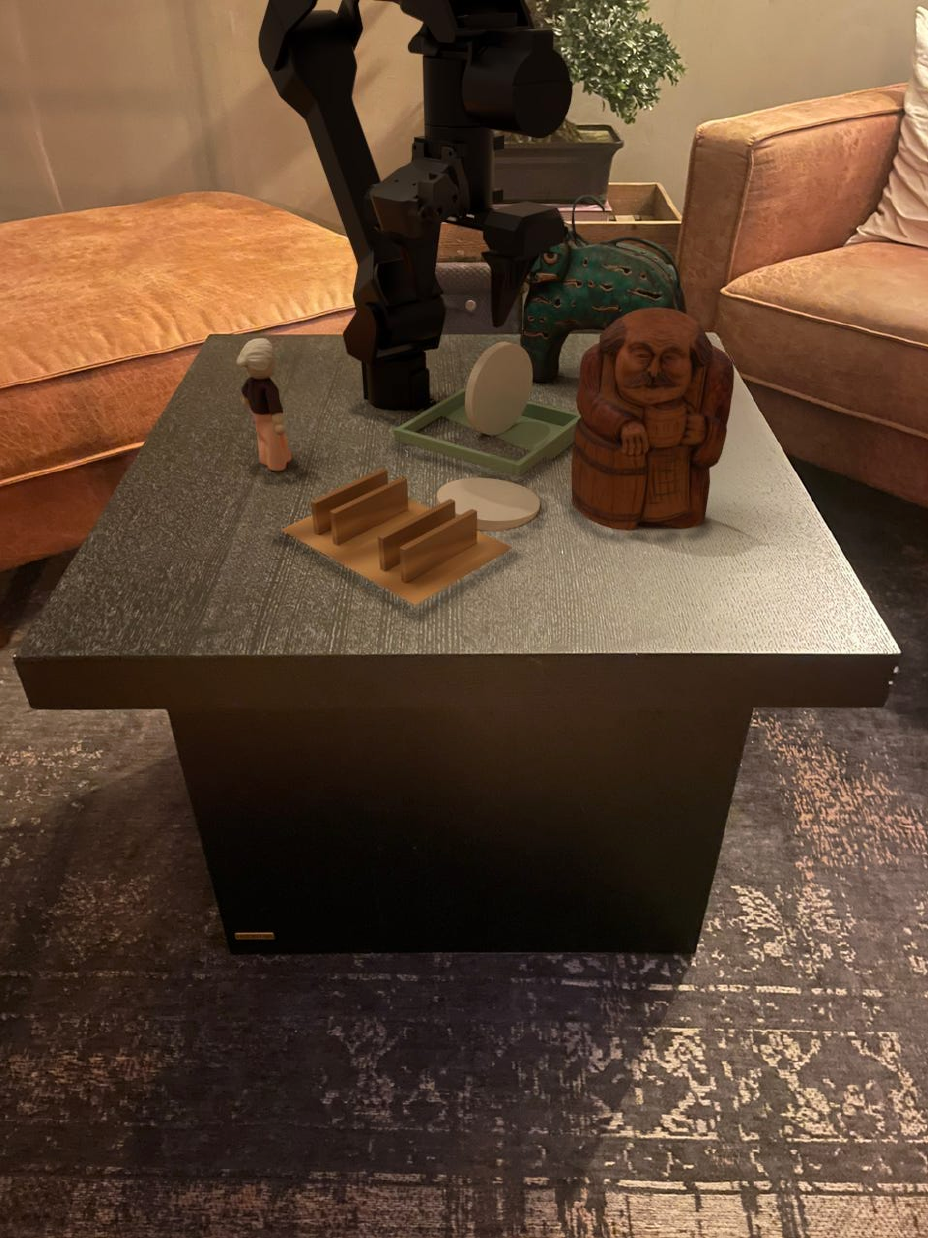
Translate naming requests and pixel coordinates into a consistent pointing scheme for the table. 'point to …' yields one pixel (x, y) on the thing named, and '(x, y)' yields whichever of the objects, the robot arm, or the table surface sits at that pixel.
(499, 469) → the tray
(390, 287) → the robot arm
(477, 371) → the plate
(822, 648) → the table surface
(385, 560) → the plate rack
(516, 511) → the plate
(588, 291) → the ceramic cat
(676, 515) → the wooden figurine
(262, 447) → the grandmother figurine
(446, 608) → the table surface
